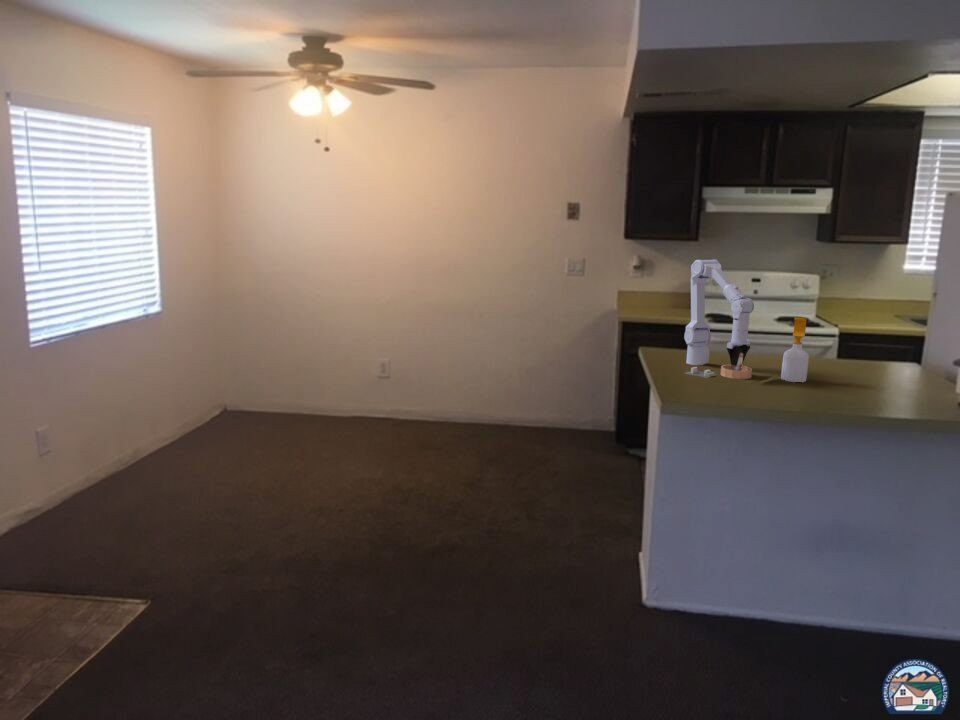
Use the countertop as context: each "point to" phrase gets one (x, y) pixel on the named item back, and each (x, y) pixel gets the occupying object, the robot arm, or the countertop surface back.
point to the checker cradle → (701, 373)
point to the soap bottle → (796, 356)
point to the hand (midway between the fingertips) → (736, 364)
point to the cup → (736, 372)
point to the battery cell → (739, 364)
